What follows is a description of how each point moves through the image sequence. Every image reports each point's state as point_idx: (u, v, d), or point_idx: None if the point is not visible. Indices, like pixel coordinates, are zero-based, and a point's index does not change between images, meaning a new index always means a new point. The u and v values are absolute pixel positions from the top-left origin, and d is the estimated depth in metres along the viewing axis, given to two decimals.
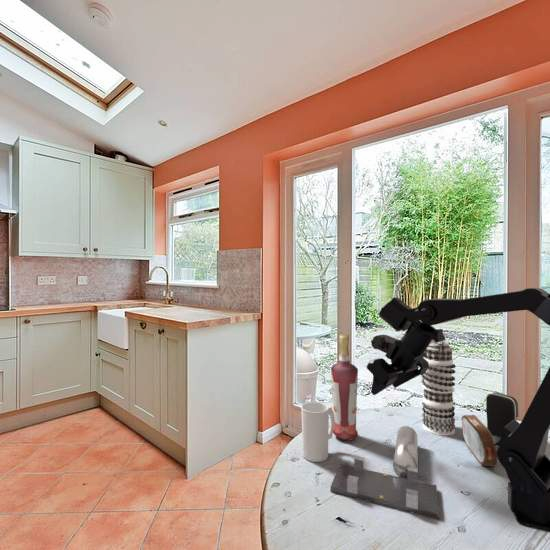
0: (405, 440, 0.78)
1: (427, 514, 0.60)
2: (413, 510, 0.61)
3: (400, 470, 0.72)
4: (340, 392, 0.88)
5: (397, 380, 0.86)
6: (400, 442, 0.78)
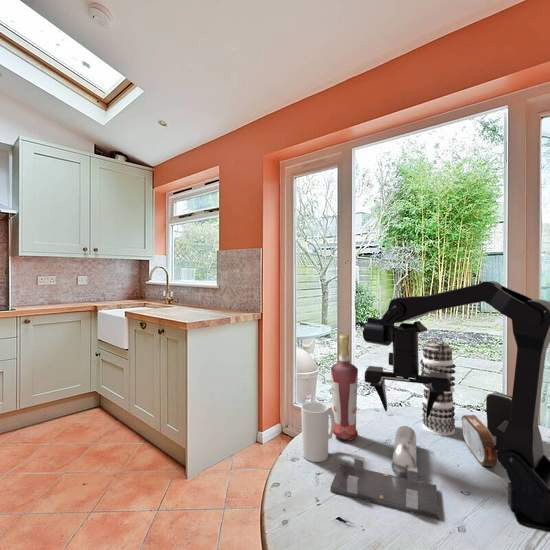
0: (403, 440, 0.79)
1: (427, 514, 0.60)
2: (413, 510, 0.61)
3: (399, 470, 0.72)
4: (340, 392, 0.88)
5: (426, 407, 0.77)
6: (398, 443, 0.78)
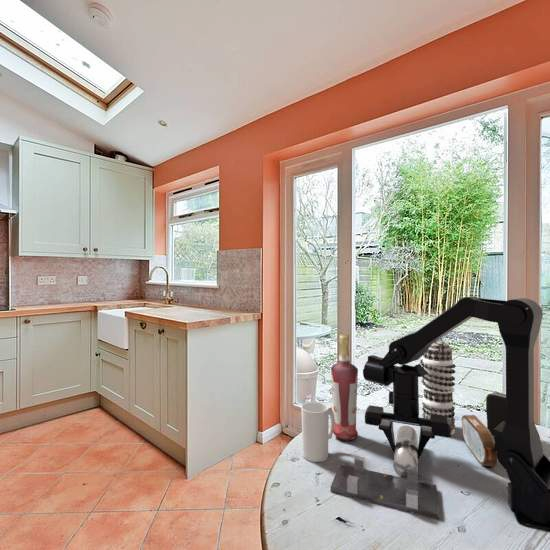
0: (405, 440, 0.78)
1: (427, 514, 0.60)
2: (413, 510, 0.61)
3: (400, 469, 0.72)
4: (340, 392, 0.88)
5: (418, 448, 0.78)
6: (400, 442, 0.78)
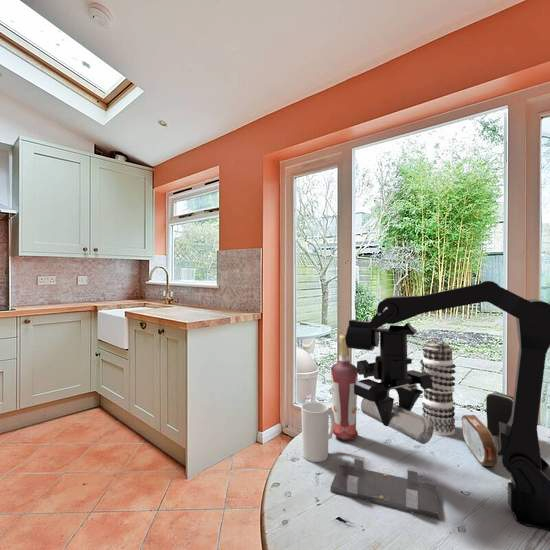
0: (394, 405, 0.73)
1: (427, 514, 0.60)
2: (413, 510, 0.61)
3: (422, 435, 0.65)
4: (340, 392, 0.88)
5: None
6: (394, 409, 0.71)
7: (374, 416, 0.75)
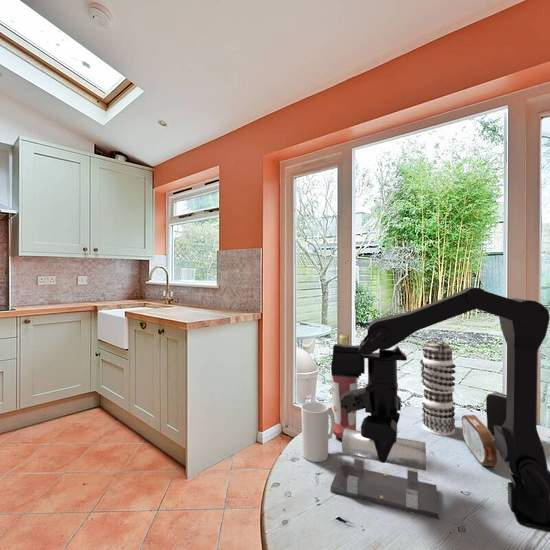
0: None
1: (427, 514, 0.60)
2: (413, 510, 0.61)
3: None
4: (340, 392, 0.88)
5: None
6: None
7: (363, 454, 0.67)
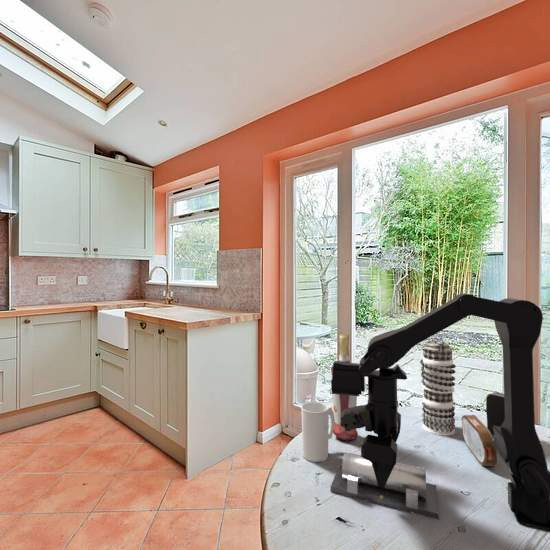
0: None
1: (427, 514, 0.60)
2: (413, 510, 0.61)
3: None
4: None
5: None
6: None
7: (363, 480, 0.67)
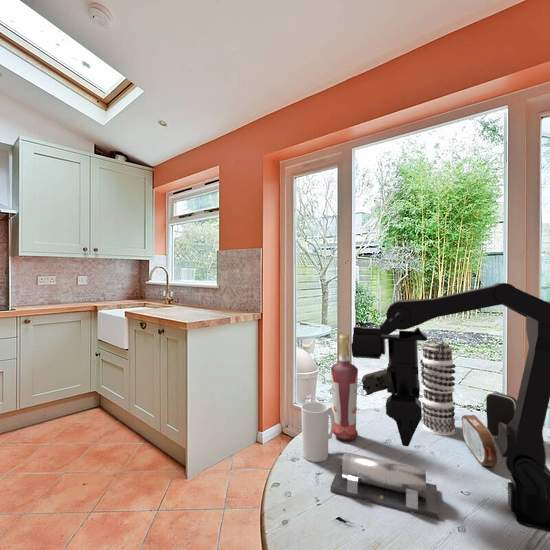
0: (384, 462, 0.67)
1: (427, 514, 0.60)
2: (413, 510, 0.61)
3: None
4: (340, 392, 0.88)
5: None
6: (388, 467, 0.66)
7: (363, 480, 0.67)
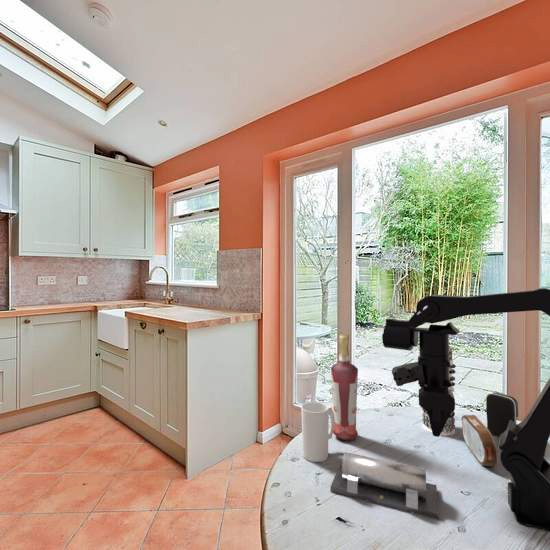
0: (384, 462, 0.67)
1: (427, 514, 0.60)
2: (413, 510, 0.61)
3: None
4: (340, 392, 0.88)
5: None
6: (388, 467, 0.66)
7: (363, 480, 0.67)
